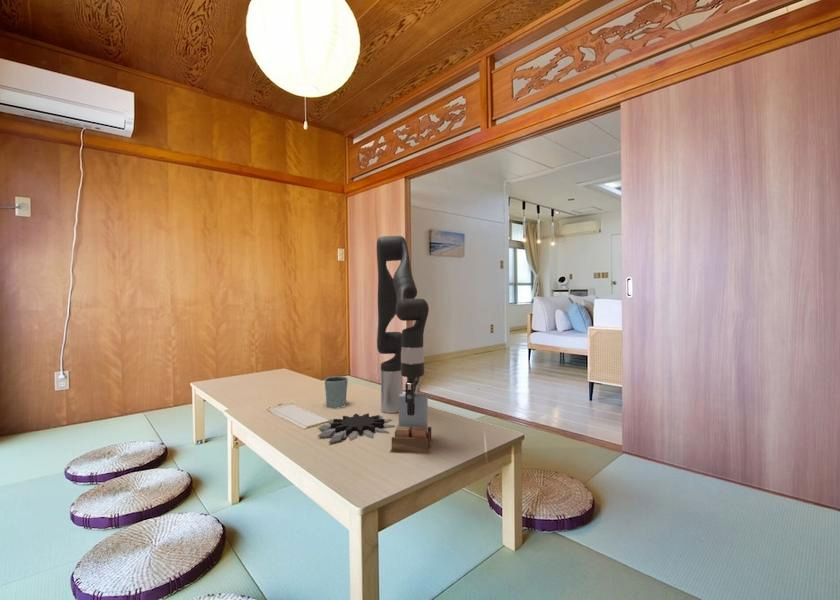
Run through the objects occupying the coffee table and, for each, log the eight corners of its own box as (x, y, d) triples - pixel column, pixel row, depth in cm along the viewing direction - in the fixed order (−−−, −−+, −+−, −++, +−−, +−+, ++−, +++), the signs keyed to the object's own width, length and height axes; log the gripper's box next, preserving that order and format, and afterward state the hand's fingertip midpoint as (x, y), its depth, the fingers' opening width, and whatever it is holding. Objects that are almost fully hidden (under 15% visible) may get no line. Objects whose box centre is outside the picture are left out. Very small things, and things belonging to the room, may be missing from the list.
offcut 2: (413, 446, 120) (413, 427, 120) (426, 446, 119) (425, 427, 119) (411, 450, 117) (411, 430, 117) (424, 450, 116) (424, 430, 116)
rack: (397, 442, 127) (396, 425, 127) (433, 443, 126) (432, 427, 126) (389, 457, 115) (389, 439, 115) (429, 459, 114) (428, 440, 114)
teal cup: (341, 401, 178) (341, 375, 178) (352, 406, 170) (352, 378, 170) (320, 405, 171) (320, 378, 171) (331, 410, 163) (330, 382, 163)
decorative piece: (296, 426, 133) (353, 404, 159) (296, 437, 133) (353, 414, 159) (364, 442, 118) (415, 416, 144) (364, 455, 118) (415, 426, 144)
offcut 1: (397, 445, 121) (397, 426, 121) (410, 446, 120) (410, 426, 120) (395, 449, 118) (395, 429, 118) (408, 449, 117) (408, 430, 117)
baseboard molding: (300, 432, 139) (329, 424, 148) (300, 424, 139) (329, 416, 148) (265, 413, 162) (292, 407, 170) (265, 406, 162) (292, 401, 170)
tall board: (400, 439, 126) (400, 393, 125) (427, 440, 124) (427, 394, 124) (398, 443, 123) (398, 396, 122) (426, 444, 121) (426, 397, 121)
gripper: (404, 357, 131) (405, 404, 131) (396, 364, 117) (397, 417, 117) (426, 357, 130) (427, 405, 130) (421, 364, 116) (421, 418, 116)
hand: (413, 411), depth 123 cm, fingers open, 8 cm apart
